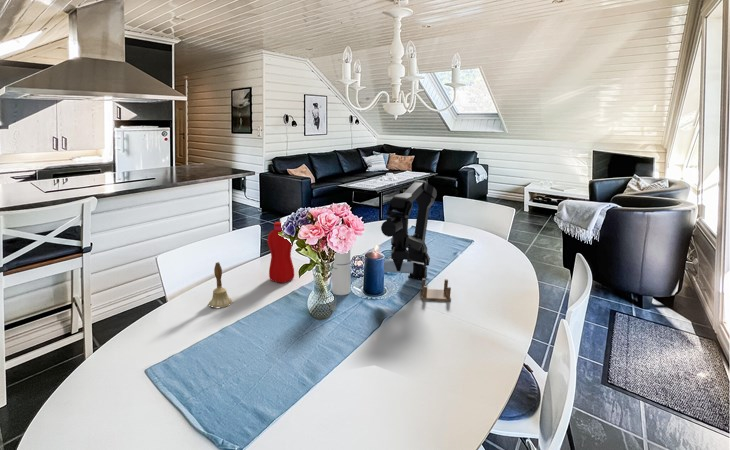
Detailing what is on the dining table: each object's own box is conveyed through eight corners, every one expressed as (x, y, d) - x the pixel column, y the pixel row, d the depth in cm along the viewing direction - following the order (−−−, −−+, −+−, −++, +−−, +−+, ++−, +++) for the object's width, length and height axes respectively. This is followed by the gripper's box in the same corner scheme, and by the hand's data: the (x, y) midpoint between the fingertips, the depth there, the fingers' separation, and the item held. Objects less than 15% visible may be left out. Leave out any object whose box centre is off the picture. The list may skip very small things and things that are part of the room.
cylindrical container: (347, 296, 149) (348, 234, 142) (330, 294, 151) (329, 233, 144) (352, 288, 156) (352, 229, 149) (335, 286, 157) (334, 227, 150)
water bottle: (300, 276, 167) (298, 220, 160) (282, 285, 158) (279, 226, 151) (284, 271, 171) (282, 217, 164) (266, 280, 162) (262, 222, 156)
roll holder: (422, 300, 147) (423, 287, 145) (420, 291, 154) (421, 278, 153) (450, 301, 146) (451, 288, 145) (447, 292, 154) (448, 279, 152)
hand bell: (232, 297, 147) (229, 257, 143) (232, 307, 139) (228, 265, 135) (209, 299, 145) (205, 259, 140) (207, 310, 137) (203, 268, 133)
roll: (383, 274, 147) (384, 263, 146) (383, 269, 151) (384, 259, 150) (412, 275, 146) (413, 264, 145) (412, 270, 150) (412, 260, 149)
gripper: (424, 238, 134) (421, 279, 139) (419, 223, 152) (417, 260, 157) (392, 237, 135) (390, 278, 139) (391, 222, 153) (390, 259, 157)
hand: (398, 268), depth 148 cm, fingers closed on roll, 4 cm apart
